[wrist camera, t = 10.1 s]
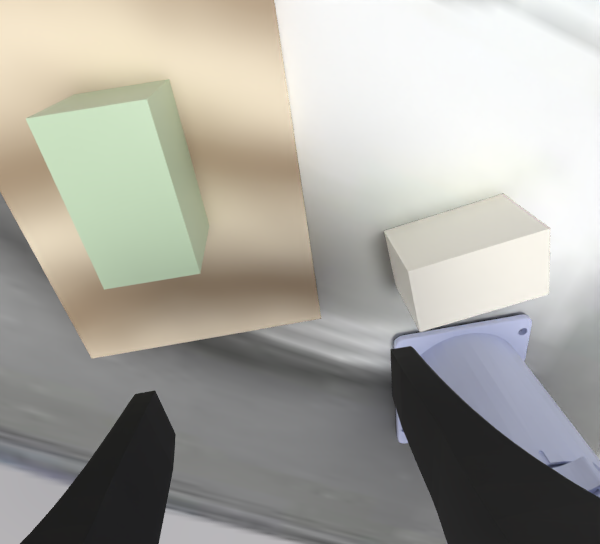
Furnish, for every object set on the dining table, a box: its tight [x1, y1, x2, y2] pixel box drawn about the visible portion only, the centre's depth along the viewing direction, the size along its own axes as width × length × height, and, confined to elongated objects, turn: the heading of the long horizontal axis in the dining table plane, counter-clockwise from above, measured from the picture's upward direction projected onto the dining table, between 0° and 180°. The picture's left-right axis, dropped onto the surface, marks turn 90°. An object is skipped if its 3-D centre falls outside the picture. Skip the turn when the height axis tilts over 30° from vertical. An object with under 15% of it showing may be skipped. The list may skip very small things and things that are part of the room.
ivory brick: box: [384, 194, 550, 332], centre depth 20 cm, size 6×4×4 cm, turn 107°
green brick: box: [26, 79, 209, 290], centre depth 16 cm, size 6×4×4 cm, turn 8°
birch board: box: [0, 0, 321, 358], centre depth 18 cm, size 18×12×1 cm, turn 8°
